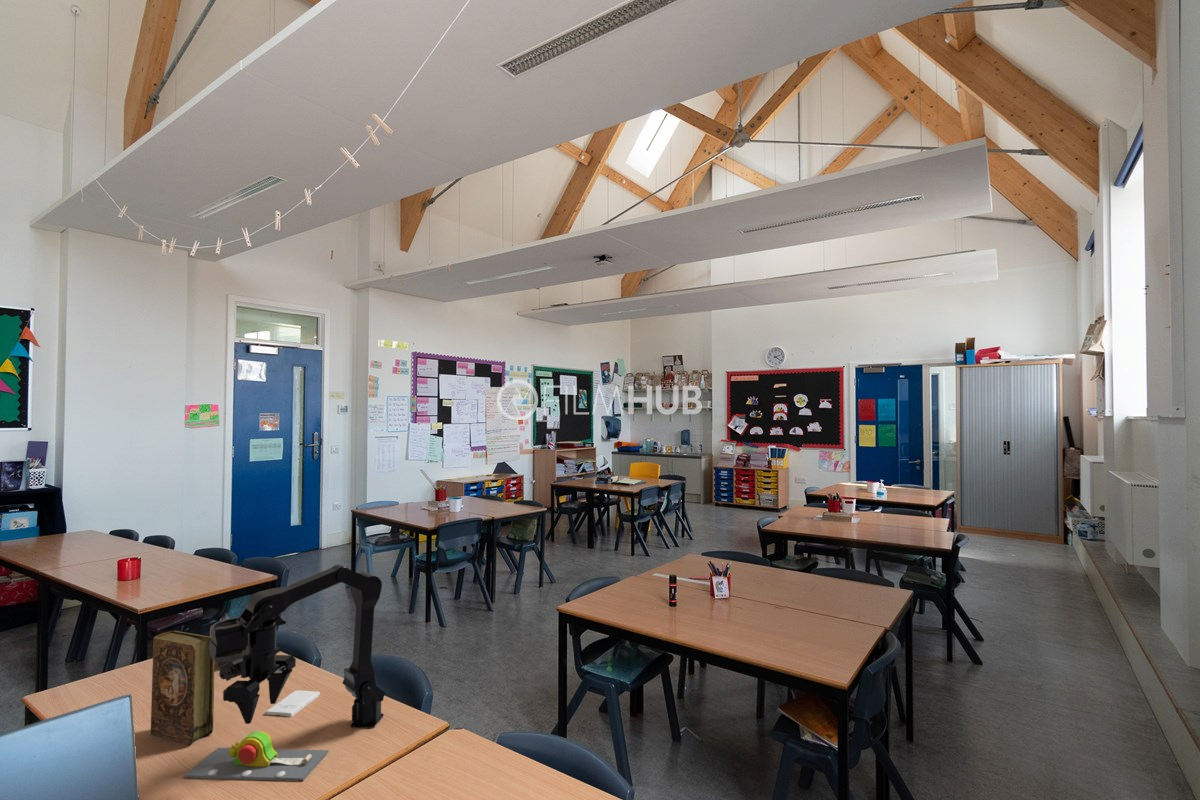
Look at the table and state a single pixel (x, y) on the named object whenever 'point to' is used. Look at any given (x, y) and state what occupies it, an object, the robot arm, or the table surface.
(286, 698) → the external hard drive
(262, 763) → the toy measuring tape
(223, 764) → the marked mat
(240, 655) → the planter
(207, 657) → the book
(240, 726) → the table surface
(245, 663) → the robot arm
